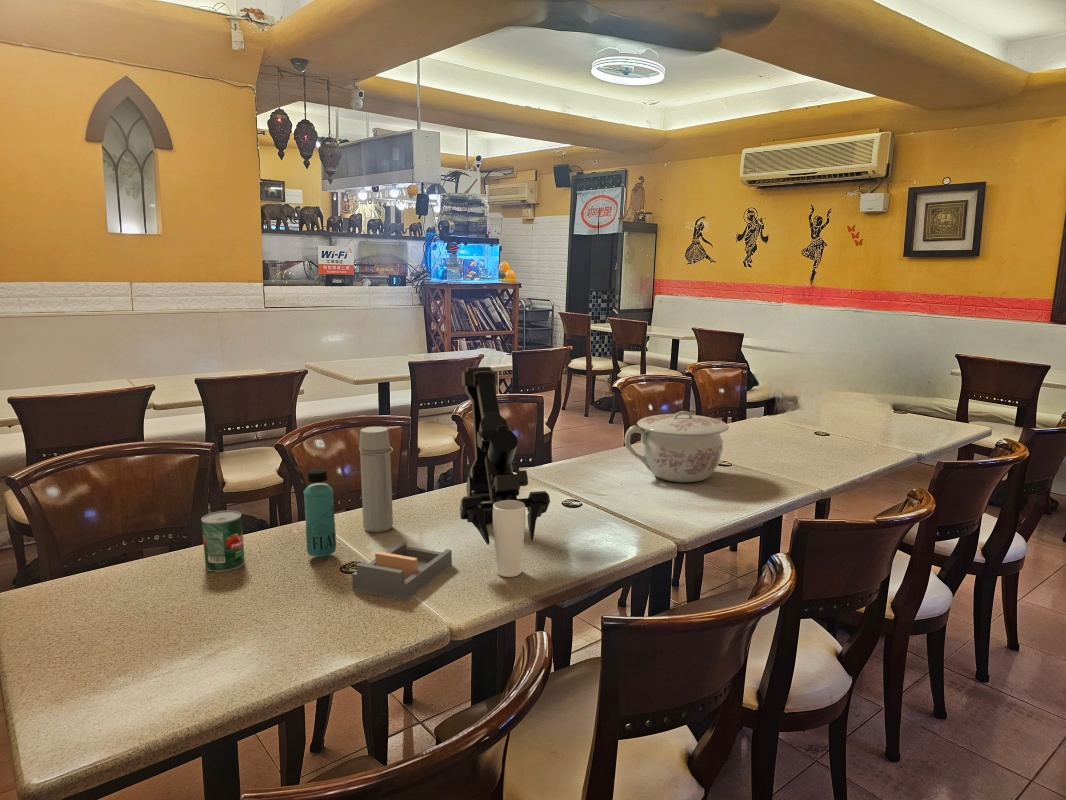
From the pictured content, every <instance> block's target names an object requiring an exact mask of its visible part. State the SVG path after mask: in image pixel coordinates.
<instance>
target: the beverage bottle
mask: <svg viewBox="0 0 1066 800" xmlns="http://www.w3.org/2000/svg"><path fill="white" fill-rule="evenodd" d="M327 480H328V471H327V470H326V469H325V468H324V469H323V468H317V469H316V468H314V469H310V470H309V471H308V472H307V481H308V482H309V483H311V484H309V485H308V486H307V487H305V489H304V490H303V499H304V500H303V501H304V516H305V518H304V519H305V541H306V543H305V545H306V552H307V554H308V555H309V556H311V557H315V558H316V557H317V558H318V557H319V558H321V557H326V556H330V555H332V554H334V553H335V552H336V549H337V538H336V536H337V533H336V532H337V531H336V522H335V520H336V518H335V513H336V512H335V503H334V502H335V500H334V488H333V487H332V486H331V485H329V484H328V483H325V482H326V481H327Z"/></svg>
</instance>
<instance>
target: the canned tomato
mask: <svg viewBox="0 0 1066 800" xmlns="http://www.w3.org/2000/svg"><path fill="white" fill-rule="evenodd" d="M200 520H201V530H202V531H201V533H202V540H203V552H204V553H203V554H204V563H205V567H206V568H205V567H204V568H205V570H206V569H207V570H206V571H208V570H210V571H209V572H211V571H215V572H214V573H224V572H223V571H226V572H230V571H229V570H231V571H234V570H237V569H239V568H242V567H243V566H244V565H245V563H246V559H245V548H244V536H243V535H244V534H243V532H244V531H243V522H242V521H243V520H242V513H241V512H240V511H237V510H218V511H214V512H210V513H208V514H205V515H203V516H202V517H201V518H200ZM242 565H243V566H242ZM233 569H234V570H233Z"/></svg>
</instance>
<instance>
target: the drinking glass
mask: <svg viewBox="0 0 1066 800" xmlns="http://www.w3.org/2000/svg"><path fill="white" fill-rule="evenodd" d="M492 528H493V529H492V530H493V539H494V548H495V549H494V550H495V561H496V572H497V574H498V576H501V577H503V578H515V577H517V576H519V575H521V574H522V572H523V558H524V557H523V555H524V554H523V553H524V543H525V541H524V540H525V534H526V533H525V532H526V507H525V504H524V503H523V502H521V501H517V500H502V501H498V502H496V503H494V504H493V522H492Z"/></svg>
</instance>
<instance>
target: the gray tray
mask: <svg viewBox="0 0 1066 800" xmlns="http://www.w3.org/2000/svg"><path fill="white" fill-rule="evenodd" d="M407 543H408V542H404V541H401V542H400V543H398V544H396V545H395V546H393V547H392V548H390V549H389V550H387V551H385V553H391V554H396V555H402V556H408V557H414V558H417V561H418V571H416V572H415V573H414V574H412V575H411V576H410V577H408V578H407V579H406V580H404V571H403V570H398V569H392V568H387V567H381V566H376V559H372V561H370V562H368V563H364V562H359V563H357V564H356V571H354V572H353V573H351V580H352V581H351V582H352V592H353V591H354V592H358V593H364V594H369V595H373V596H377V597H384V598H388V599H394V600H397V601H403V602H408V601H409V600H410V599H411V598H413V597H414V596H415V595H416V594H417V593H419V592H420V591H422V589H424V588H425V587H426V586H428V585H429V584H430V583H432V582H433V581H434V580H435V579H437V578H438V577H439V576H440V575H442V574H443V573H444V572H445V571H447V570H448V569H449V568H450V567H451V566H453V555H452V552H453V551H452V549H447V548H446V549H445V550H444V551H435V550H431V549H423V548H417V547H411V546H408V545H407Z"/></svg>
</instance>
